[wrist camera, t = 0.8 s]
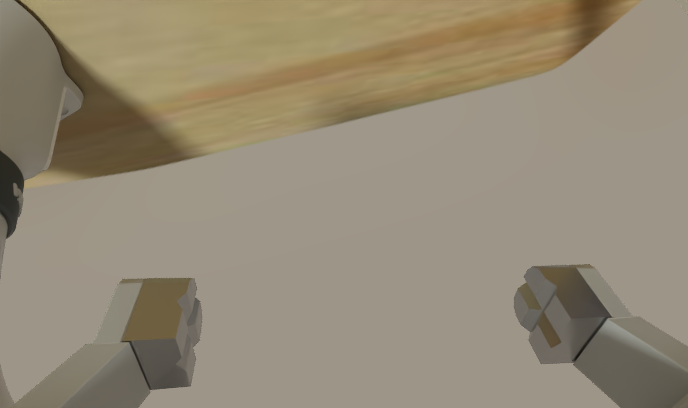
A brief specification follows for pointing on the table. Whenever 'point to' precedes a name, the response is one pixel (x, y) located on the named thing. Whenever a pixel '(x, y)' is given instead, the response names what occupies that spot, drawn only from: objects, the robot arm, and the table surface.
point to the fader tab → (683, 5)
